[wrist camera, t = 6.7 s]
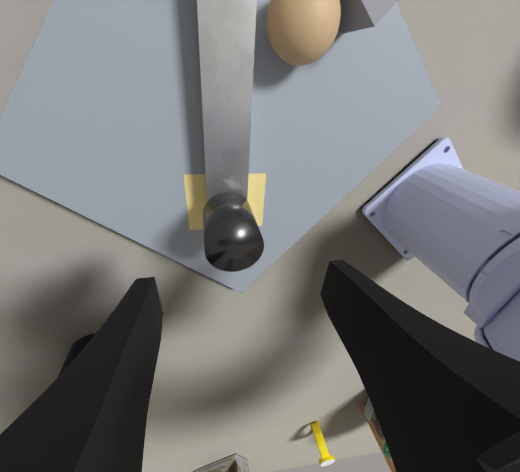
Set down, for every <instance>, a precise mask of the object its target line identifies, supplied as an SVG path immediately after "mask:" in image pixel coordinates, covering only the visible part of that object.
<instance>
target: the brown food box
mask: <svg viewBox="0 0 520 472" xmlns="http://www.w3.org/2000/svg"><path fill="white" fill-rule="evenodd" d="M195 472H249V465H248V460H247V459H245V458H243V457H241V456H239V455H237V454H234V455H232V456H230V457H227V458H225V459H222V460H220V461H217V462H215V463H212V464H210V465H207V466H205V467H202V468H200V469H198V470H195Z"/></svg>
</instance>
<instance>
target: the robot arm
mask: <svg viewBox="0 0 520 472" xmlns="http://www.w3.org/2000/svg"><path fill="white" fill-rule="evenodd" d="M445 147H446V148H445ZM444 149H445V150H444ZM371 212H373V213H372V214H371ZM362 213H363V214H364V215H365V216H366V217H367V219H368V220H369V221H370V222H371V223H372V224H373V225H374V226H375V227H376V228H377V229H378V230H379V231H380V233H381V234H382V235H383V236H384V237H385V238H386V239H387V240H388V241H389V242H390V243H391V244H392V246H393V247H394V248H395V249H396V250H397V251H398V252H399V253H400V254H401V255H402V256H403V257H404V258H405V259H406V260H410V259H412V258H413V257H414V256H415V257H416V258H417V259H419V260H420V261H421V262H422V263H423V264H424V265H425V266H427V267H428V268H429V269H430V270H431V271H432V272H434V273H435V274H436V275H437V276H438V277H439V278H441V279H442V280H443V281H444V282H445V283H446V284H448V285H449V286H450V287H451V288H452V289H453V290H454V291H456V292H457V293H458V294H459V295H460V296H461V297H463V298H464V299H465V300H466V301H467V302H468V303H469V305H468V307H467V308H466V310H465V311H464V313H465V314H466V315H467V316H468V317H469V318H470V319H471V320H472V321H473V322H475V323H476V324H477V326H476V328H475V333H474V336H475V340H476V342H475V341H473V340H471V339H469V338H467V337H465V336H463V335H460V334H458V333H457V332H455V331H453V330H451V329H449V328H447V327H445V326H443V325H441V324H440V323H438V322H436V321H434V320H432V319H431V318H429V317H427V316H425V315H424V314H422V313H420V312H419V311H417V310H415V309H414V308H412V307H411V306H409V305H407V304H406V303H404V302H403V301H401V300H400V299H398V298H397V297H395V296H394V295H392V294H391V293H389V292H388V291H386V290H385V289H383V288H382V287H380V286H379V285H378V284H376V283H375V282H373V281H372V280H370V279H369V278H368V277H366V276H365V275H363V274H362V273H361V272H359V271H358V270H356V269H355V268H354V267H352V266H351V265H349V264H348V263H346V262H345V261H343V260H338V261H330V262H329V266H328V269H327V273H326V276H325V280H324V283H323V287H322V290H321V297H322V300H323V303H324V306H325V308H326V311H327V313H328V316H329V318H330V320H331V322H332V323H333V325H334V327H335V329H336V331H337V333H338V335H339V337H340V339H341V340H342V342H343V344H344V346H345V348H346V350H347V352H348V353H349V355H350V357H351V359H352V361H353V363H354V365H355V367H356V369H357V371H358V373H359V375H360V378H361V380H362V382H363V385H364V387H365V389H366V392H367V394H368V397H369V399H370V402H371V404H372V407H373V409H374V412H375V414H376V417H377V419H378V422H379V425H380V427H381V430H382V433H383V436H384V438H385V441H386V444H387V447H388V449H389V452H390V455H391V458H392V461H393V464H394V467H395V470H396V472H520V191H518V190H516V189H513V188H511V187H508V186H505V185H503V184H500V183H497V182H495V181H492V180H490V179H487V178H484V177H482V176H479V175H477V174H474V173H471V172H469V171H466V170H464V169H463V167H462V165H461V163H460V161H459V158H458V156H457V154H456V152H455V150H454V147H453V145H452V143H451V141H450V139H449V138H445V137H443V138H440V139H439V140H438V141H437V142H435V143H434V144H433V145H432V146H431V147H430V148H429V149H428V150H427V151H425V152H424V153H423V154H422V155H421V156H420V157H419V158H418V159H417V160H415V161H414V162H413V163H412V164H411V165H410V166H409V167H408V168H406V169H405V170H404V171H403V172H402V173H401V174H400V175H399V176H398V177H396V178H395V179H394V180H393V181H392V182H391V183H390V184H389V185H387V186H386V187H385V188H384V189H383V190H382V191H381V192H380V193H379V194H377V195H376V196H375V197H374V198H373V199H372V200H371V201H370V202H369V203H367V204H366V205H365V206H364V207H363V209H362ZM162 317H163V312H162V308H161V303H160V299H159V295H158V291H157V286H156V282H155V278H154V277H150V278H139V279H136V280H135V281H134V283H133V284H132V286H131V287H130V289H129V290H128V291H127V293H126V294H125V296H124V297H123V299H122V300H121V301H120V303H119V304H118V306H117V307H116V308H115V310H114V311H113V312H112V314H111V315H110V316H109V318H108V319H107V320H106V322H105V323H104V324H103V326H102V327H101V328H100V329H99V331H98V332H97V333H96V334H95V336H94V337H93V338H92V339H91V340H90V342H89V343H88V344H87V345H86V346H85V348H84V349H83V350H82V351H81V352H80V354H79V355H78V356H77V357H76V358H75V359H74V360H73V362H72V363H71V364H70V365H69V366H68V367H67V368H66V369H65V370H64V371H63V373H62V374H61V375H60V376H59V377H58V378H57V379H56V380H55V381H54V382H53V383H52V384H51V385H50V386H49V387H48V388H47V389H46V391H45V392H44V393H43V394H42V395H41V396H40V397H39V398H37V399H36V400H35V401H34V402H33V403H32V404H31V405H30V406H29V407H28V408H27V409H26V410H25V411H24V412H23V413H22V414H21V415H20V416H19V417H18V418H17V419H16V420H15V421H14V422H13V423H12V424H11V425H10V426H9V427H8V428H7V429H6V430H5V431H3V432H2V433H1V434H0V472H142V460H143V449H144V439H145V429H146V419H147V412H148V405H149V399H150V394H151V389H152V383H153V378H154V373H155V368H156V363H157V357H158V352H159V347H160V341H161V332H162Z"/></svg>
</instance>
